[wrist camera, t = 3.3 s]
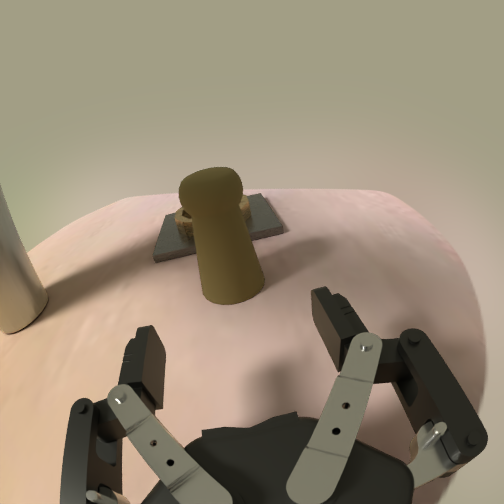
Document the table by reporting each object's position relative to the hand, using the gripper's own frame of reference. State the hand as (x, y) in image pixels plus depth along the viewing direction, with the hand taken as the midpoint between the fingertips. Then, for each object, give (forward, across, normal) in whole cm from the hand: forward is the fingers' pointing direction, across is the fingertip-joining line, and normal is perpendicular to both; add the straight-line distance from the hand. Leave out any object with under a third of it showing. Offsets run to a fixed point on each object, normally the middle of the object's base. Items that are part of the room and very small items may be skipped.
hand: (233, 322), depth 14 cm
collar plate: (+27, +1, +6) cm, 28 cm away
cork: (+12, 0, +6) cm, 14 cm away
